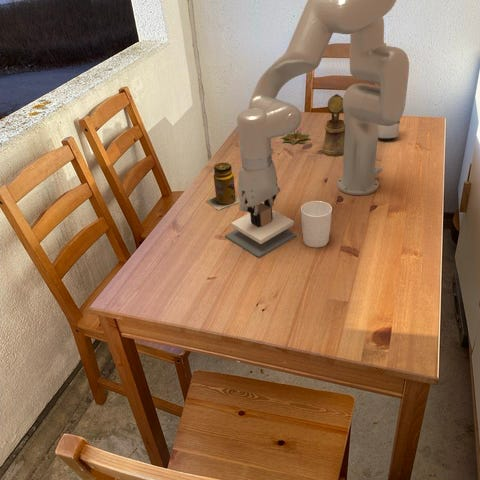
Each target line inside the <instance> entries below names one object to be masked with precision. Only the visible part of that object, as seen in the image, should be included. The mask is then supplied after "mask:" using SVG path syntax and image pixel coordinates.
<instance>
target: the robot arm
mask: <svg viewBox="0 0 480 480" xmlns="http://www.w3.org/2000/svg"><path fill="white" fill-rule="evenodd" d="M396 2H397V0H307V1H306V4H305V6H304V8H303V11H302V14H301V15H300V18H299V21H298V23H297V25H296V27H295V30H294V32H293V34H292V37H291V39H290V42H289V45H288V47H287V49H286V50H285V53H283V54H282V55H281V57H279V58H278V59H276V61H274V63H273V64H271V65H270V66H269V67H268V68H267V70H266V71H264V73H262V75H261V77H260V78H259V80H258V81H257V84H256V85H255V88H254V90H253V93H252V95H251V98H250V101H249V105H248V109H244V110H242V111H241V112H239V114H238V116H237V119H236V120H237V130H238V131H237V132H238V140H239V141H238V142H239V148H240V150H239V151H240V159H241V167H239V172H238V182H237V183H238V197H239V198H238V199H239V200H240V202H239V203H240V204H239V206H238V209H239V210H240V211H241V212H246V213H250V216H251V223H252V224H254V225H255V226H257V227H260V226H261V224H260V214H258V204H260V203H263V204H265V205H267V206H269V207H271V220H273V217H272V210H273V207H274V205H275V204H274V202H275V200H276V199H277V196H278V195H279V193H280V192H281V188H280V186H279V183H278V175H277V169H276V166H275V162H274V160H273V157H272V156H273V154H274V149H273V148H272V140H271V139H273V138H278V137H285V136H287V135H288V134H293V133H295V132H296V131H297V130H298V128H299V127H300V125H301V123H302V112H301V110H300V109H299V108H298V107H297V106H296V105H295V104H291V103H290V102H286V101H283V100H280V99H278V98H277V96H278V94H279V92H280V90H281V89H282V88H283V87H284V86H285V85H286V84H287V83H288V82H289V81H291V80H292V79H294V78H296V77H299V76H301V75H304V74H307V73H309V72H312V71H315V70H316V69H318V68H319V66H320V64H321V61H322V58H323V57H324V54H325V52H326V51H327V48H328V45H329V44H330V41H331V38H332V36H333V35H334V34H339V35H349V36H350V41H349V42H350V43H349V72H350V73H349V74H350V75H351V76H352V78H354V79H356V80H359V81H362V82H359V83H354V84H351V85H350V86H348V88H347V89H345V92H344V94H343V96H342V98H343V111H342V112H343V118H344V124H345V139H344V155H343V159H342V162H343V164H342V176H340V178H339V179H338V180H337V183H336V186H337V188H338V189H339V191H341V192H343V193H345V194H349V195H353V196H366V195H369V194H372V193H374V192H376V191H378V189H379V184H380V183H379V181H378V179H377V178H376V176H377V174H380V173H381V172H382V171H383V168H382V166H380V165H378V166H376V159H377V147H378V141H379V140H378V129H377V124H379V125H383V126H393V125H395V124H396V123H398V122H399V120H400V121H401V119H402V117H403V115H404V111H405V107H406V101H407V93H408V92H407V91H408V82H409V75H410V74H409V73H410V61H409V57H408V54H407V53H406V52H405V50H404V49H402V48H399V47H396V46H390V45H386V44H385V20H384V16H386V15H387V14H388V13H389V12H391V10H392V9H393V7H394V6H395V4H396ZM363 82H365V83H363ZM374 84H375V85H374ZM378 85H379V86H378ZM296 129H297V130H296ZM294 131H295V132H294ZM252 208H253V209H252Z"/></svg>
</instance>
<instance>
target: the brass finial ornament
mask: <svg viewBox="0 0 480 480" xmlns="http://www.w3.org/2000/svg"><path fill="white" fill-rule="evenodd" d="M327 110H328V112H329V113H330V114H331V119H328V120H327V121H326V124H325V127H324V130H325V134H324V135H325V136H324V140H323V144H322V149H321V151H322V153H323V154H324V155H326V156H329V157H330V156H331V157H340V156H344V139H345V120H344V119H339V118H340V113H342V112H343V96H341V95H339V94H338V93H336V94H334V95H333V96H331V97H330V98H329V99H328V102H327Z"/></svg>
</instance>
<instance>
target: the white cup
mask: <svg viewBox="0 0 480 480" xmlns="http://www.w3.org/2000/svg"><path fill="white" fill-rule="evenodd" d="M332 213H333V207H332V206H331V204H330V203H328V202H325V201H324V200H322V201H321V200H311V201H307V202H305V203H303V204H302V205H301V207H300V217H301V219H300V220H301V230H302V236H303V237H302V240H303V243H304V244H305V245H306V246H308V247H310V248H322V247H324V246H326V245H328V243H329V242H330V241H329V240H330V232H331V225H332V216H333V214H332Z"/></svg>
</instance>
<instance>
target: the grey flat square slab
mask: <svg viewBox="0 0 480 480" xmlns="http://www.w3.org/2000/svg"><path fill="white" fill-rule="evenodd" d="M224 237H225V238H226V239H227V240H229V241H230V242H232V243H234V244H235V245H237V246H239V247H240V248H241V249H243V250H245V251H247V252H248V253H249V254H252V256H254V257H256V258H258V259H260V258H263V257H264V256H265V255H267V254H269V253H271V252H272V251H274V250H276V249H278V248H279V247H281V246H282V245H284V244H287V243H288V242H290V241H291V240H293V239H295V238H298V234H297V233H296V232H294V231H291V230H290V229H289V228H288V229H286V230H284V231H282V232H281V233H279V234H277V235H276V236H274V237H272V238H271V239H269V240H267V241H266V242H264V243H262V244H260V243H258V242H256V241H255V240H253V239H251V238H250V237H248V236H246V235H245V234H243V233H241V232H240V231H238V230H237V229H234V230H233V231H230V232H229V233H226V234H224Z"/></svg>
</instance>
